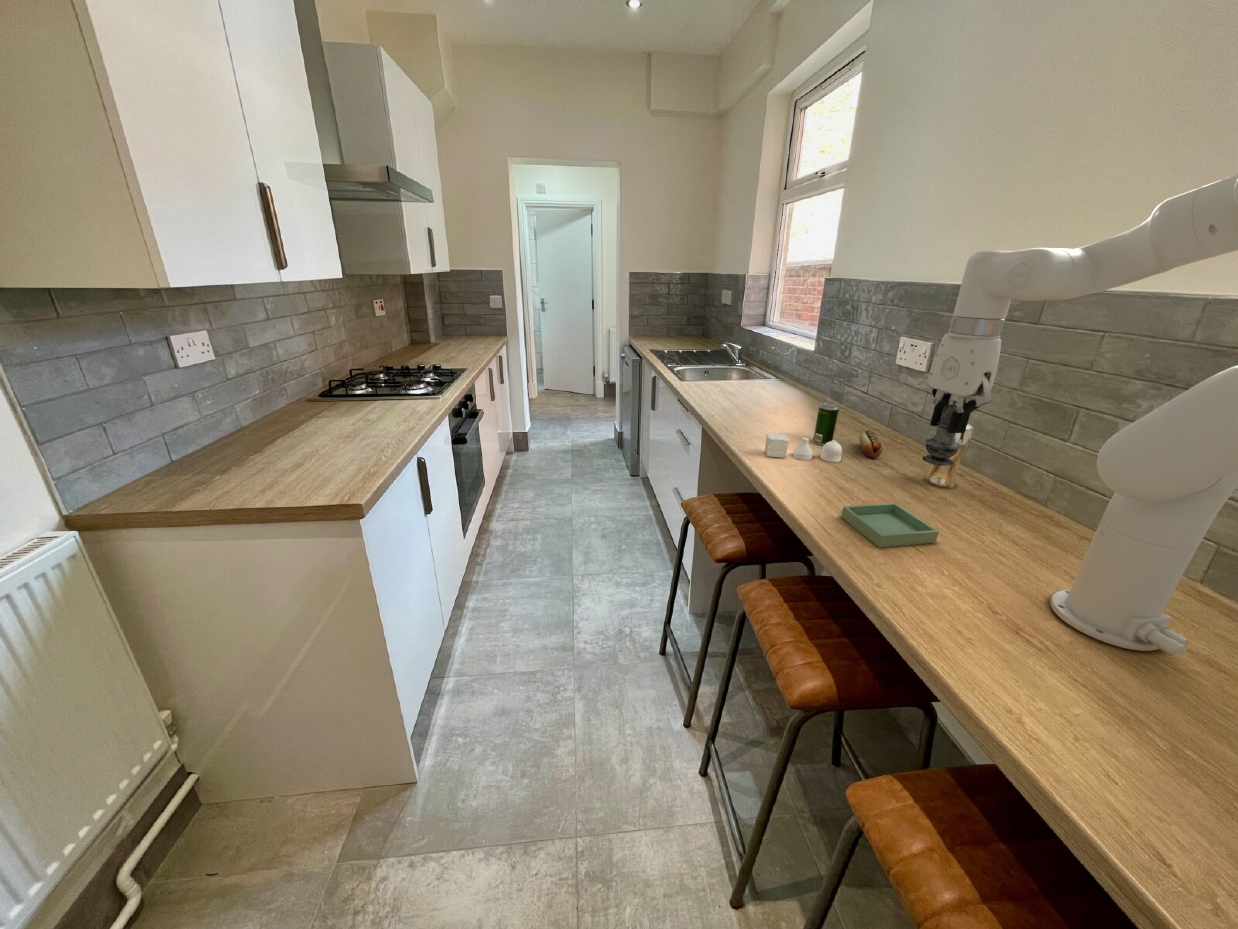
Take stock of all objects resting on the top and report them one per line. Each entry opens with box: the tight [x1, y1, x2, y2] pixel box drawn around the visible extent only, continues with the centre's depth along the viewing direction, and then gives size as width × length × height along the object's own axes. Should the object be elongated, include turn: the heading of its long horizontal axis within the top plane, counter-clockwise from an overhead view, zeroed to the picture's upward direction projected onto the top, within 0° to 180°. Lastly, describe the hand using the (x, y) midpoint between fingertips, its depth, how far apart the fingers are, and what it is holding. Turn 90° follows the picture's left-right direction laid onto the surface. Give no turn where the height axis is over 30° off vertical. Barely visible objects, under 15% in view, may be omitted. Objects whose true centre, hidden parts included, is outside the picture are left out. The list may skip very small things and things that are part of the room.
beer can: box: [812, 401, 840, 447], centre depth 144 cm, size 5×5×12 cm
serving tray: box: [840, 502, 940, 548], centre depth 98 cm, size 12×12×2 cm
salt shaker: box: [921, 399, 961, 466], centre depth 92 cm, size 6×6×12 cm
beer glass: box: [925, 423, 974, 489], centre depth 118 cm, size 7×7×15 cm
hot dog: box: [859, 430, 884, 458], centre depth 139 cm, size 5×13×5 cm, turn 163°
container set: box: [764, 433, 843, 463], centre depth 134 cm, size 20×5×6 cm, turn 82°
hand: (947, 428), depth 91 cm, fingers closed on salt shaker, 3 cm apart
